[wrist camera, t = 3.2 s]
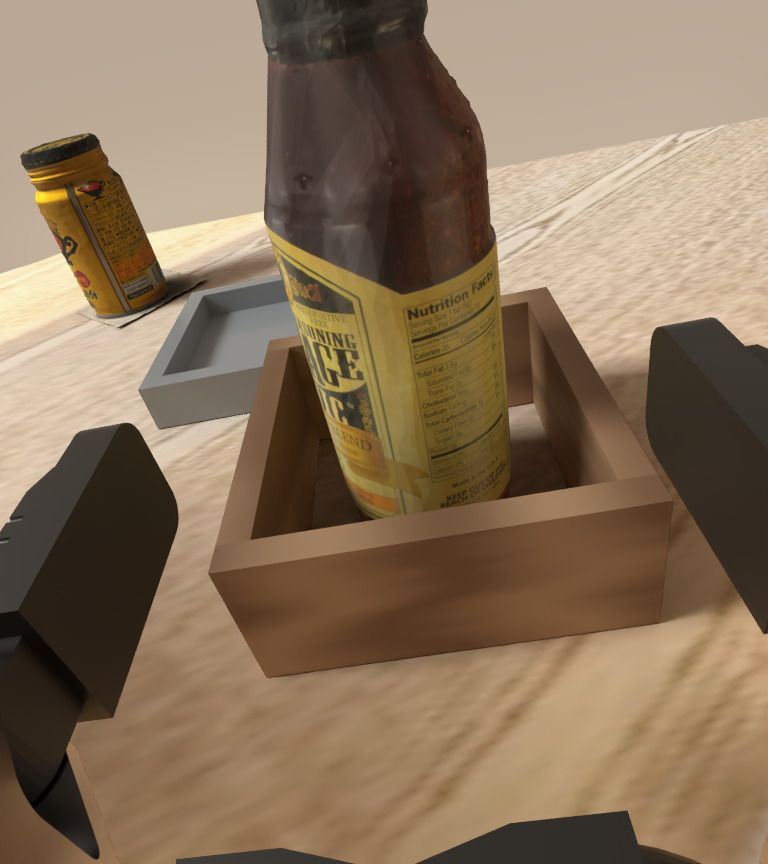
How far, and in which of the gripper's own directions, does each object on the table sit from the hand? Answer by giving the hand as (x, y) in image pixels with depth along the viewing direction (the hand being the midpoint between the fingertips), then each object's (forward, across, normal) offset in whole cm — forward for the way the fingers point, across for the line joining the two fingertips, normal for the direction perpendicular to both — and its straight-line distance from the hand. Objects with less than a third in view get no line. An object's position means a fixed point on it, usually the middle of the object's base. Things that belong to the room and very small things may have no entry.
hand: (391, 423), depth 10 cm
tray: (+25, +8, +11) cm, 28 cm away
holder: (+10, 0, +11) cm, 15 cm away
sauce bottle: (+10, 0, +11) cm, 15 cm away
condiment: (+38, +21, +11) cm, 45 cm away
